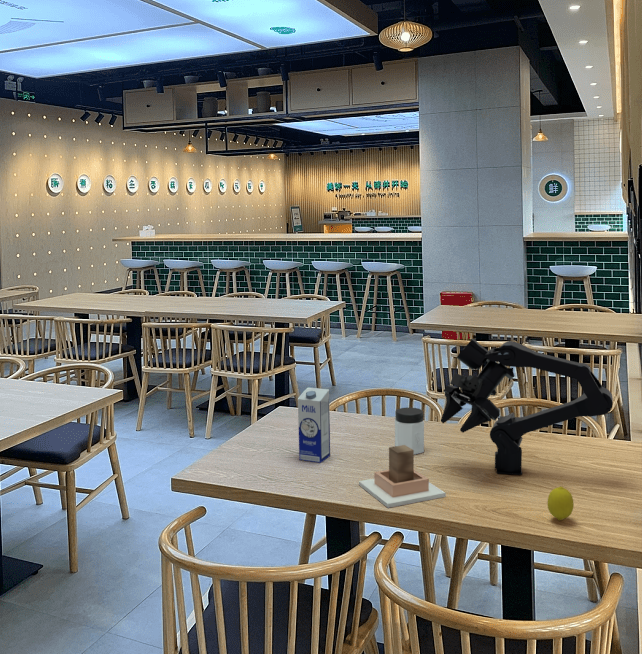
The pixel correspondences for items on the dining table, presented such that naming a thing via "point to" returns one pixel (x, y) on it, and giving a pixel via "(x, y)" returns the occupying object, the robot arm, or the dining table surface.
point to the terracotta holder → (400, 489)
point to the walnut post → (401, 464)
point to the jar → (410, 429)
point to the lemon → (560, 503)
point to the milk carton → (314, 425)
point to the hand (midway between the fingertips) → (451, 426)
